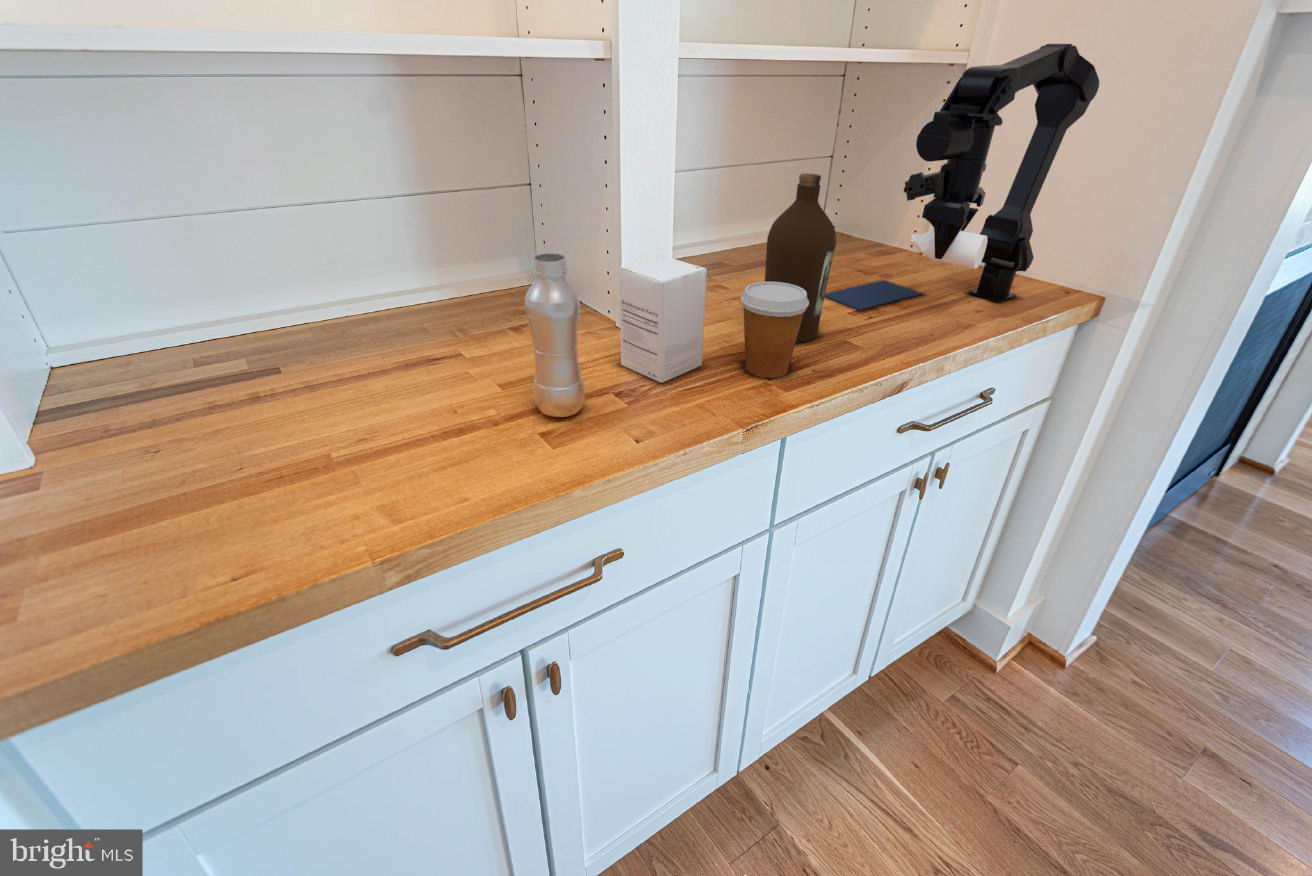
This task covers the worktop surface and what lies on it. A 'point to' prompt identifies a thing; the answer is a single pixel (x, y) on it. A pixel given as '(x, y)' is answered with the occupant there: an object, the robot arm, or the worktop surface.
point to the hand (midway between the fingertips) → (942, 254)
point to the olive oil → (803, 251)
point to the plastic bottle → (554, 337)
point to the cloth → (871, 295)
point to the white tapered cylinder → (954, 248)
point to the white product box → (662, 317)
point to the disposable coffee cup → (771, 326)
